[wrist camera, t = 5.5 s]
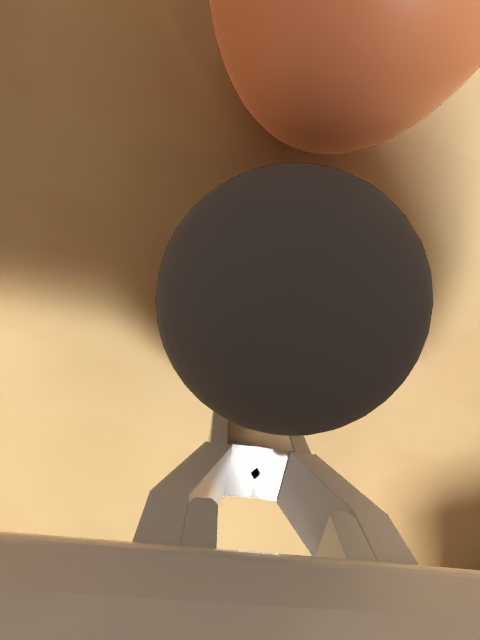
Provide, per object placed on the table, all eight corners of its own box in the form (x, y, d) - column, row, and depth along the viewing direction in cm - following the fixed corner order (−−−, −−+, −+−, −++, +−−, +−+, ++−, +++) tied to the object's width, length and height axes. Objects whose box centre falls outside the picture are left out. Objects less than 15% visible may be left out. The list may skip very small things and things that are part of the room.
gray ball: (141, 449, 6) (188, 290, 10) (362, 472, 7) (326, 311, 11) (3, 258, 2) (183, 101, 6) (723, 367, 2) (427, 151, 6)
